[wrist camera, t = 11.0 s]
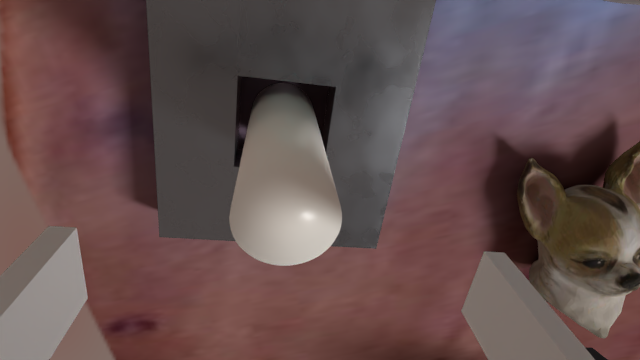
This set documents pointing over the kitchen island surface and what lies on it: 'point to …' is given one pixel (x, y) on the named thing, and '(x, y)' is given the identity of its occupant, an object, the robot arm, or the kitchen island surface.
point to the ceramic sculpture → (585, 240)
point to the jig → (284, 65)
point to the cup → (625, 1)
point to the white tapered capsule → (284, 182)
